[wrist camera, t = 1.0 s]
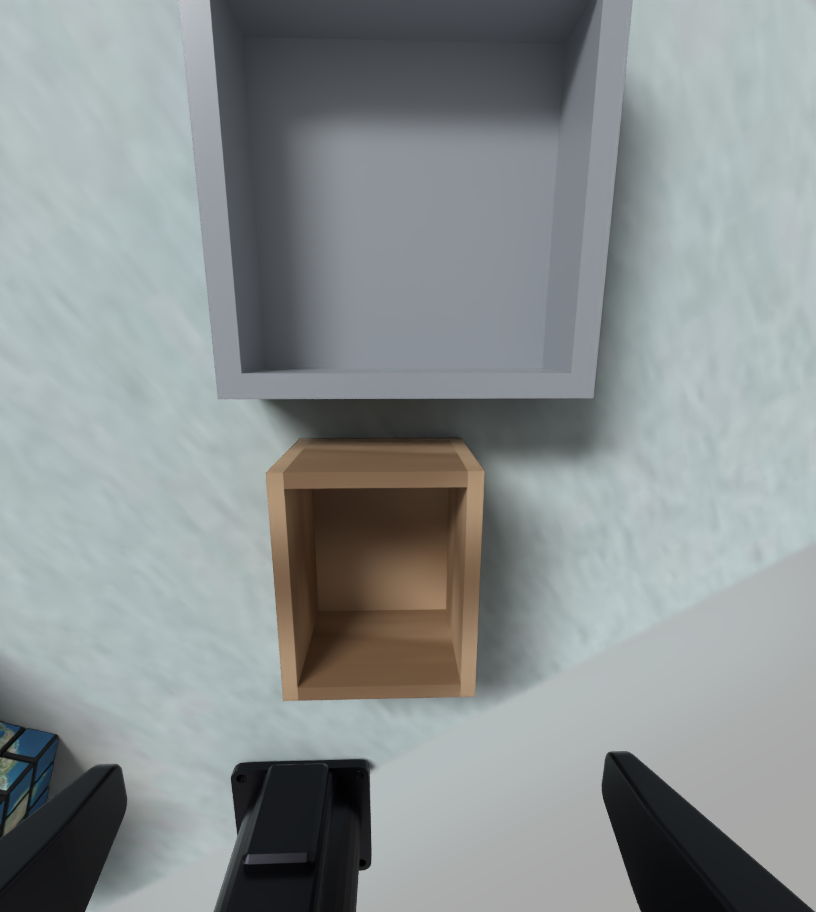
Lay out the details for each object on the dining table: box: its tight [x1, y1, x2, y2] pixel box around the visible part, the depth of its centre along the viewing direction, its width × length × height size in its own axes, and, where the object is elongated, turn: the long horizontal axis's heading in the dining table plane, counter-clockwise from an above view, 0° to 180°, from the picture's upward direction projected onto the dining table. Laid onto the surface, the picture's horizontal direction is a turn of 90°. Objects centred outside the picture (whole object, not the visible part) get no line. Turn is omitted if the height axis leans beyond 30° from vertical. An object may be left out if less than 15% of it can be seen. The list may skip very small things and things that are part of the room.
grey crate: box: [179, 0, 633, 399], centre depth 15 cm, size 12×12×4 cm
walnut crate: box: [266, 438, 485, 701], centre depth 17 cm, size 8×6×5 cm
